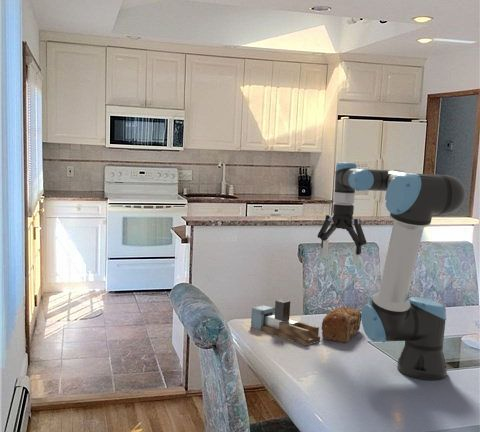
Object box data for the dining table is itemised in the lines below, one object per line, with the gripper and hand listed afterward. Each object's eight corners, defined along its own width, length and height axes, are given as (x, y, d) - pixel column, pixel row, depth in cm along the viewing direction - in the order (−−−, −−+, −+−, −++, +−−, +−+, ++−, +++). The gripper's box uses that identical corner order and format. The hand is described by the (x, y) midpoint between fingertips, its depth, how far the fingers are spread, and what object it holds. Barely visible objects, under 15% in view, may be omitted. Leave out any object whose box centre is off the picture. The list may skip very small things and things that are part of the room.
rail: (320, 340, 206) (320, 327, 205) (306, 345, 200) (307, 331, 199) (264, 323, 224) (265, 310, 223) (250, 326, 218) (251, 314, 218)
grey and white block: (298, 331, 210) (299, 303, 209) (291, 333, 207) (293, 305, 206) (265, 321, 221) (267, 294, 220) (259, 323, 218) (260, 296, 217)
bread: (347, 344, 203) (348, 317, 202) (319, 338, 208) (320, 312, 207) (361, 331, 220) (363, 306, 219) (335, 326, 225) (336, 302, 224)
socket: (274, 326, 221) (275, 307, 220) (260, 330, 215) (261, 310, 214) (264, 323, 224) (265, 304, 223) (250, 326, 218) (251, 308, 217)
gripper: (378, 206, 203) (374, 264, 206) (321, 200, 220) (318, 253, 222) (368, 207, 198) (363, 266, 200) (310, 201, 215) (307, 255, 217)
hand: (339, 260), depth 211 cm, fingers open, 13 cm apart
